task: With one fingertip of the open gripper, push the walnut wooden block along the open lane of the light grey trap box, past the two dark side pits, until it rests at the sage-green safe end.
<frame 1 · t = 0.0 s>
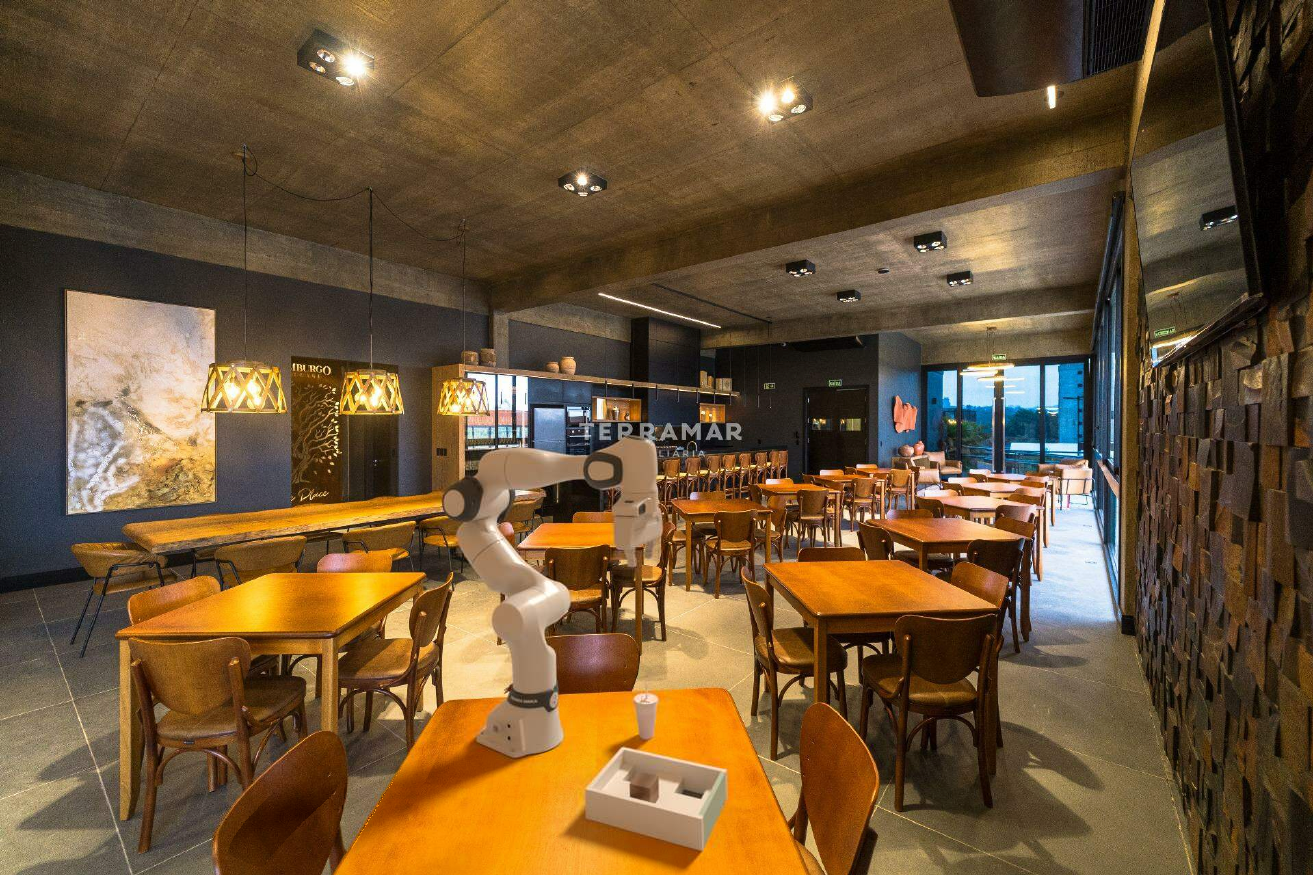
hand: (640, 562, 135), 48 cm above the table, fingers open, 8 cm apart
walnut block: (644, 801, 117), point 3 cm above the table, touching trap box
smoothie: (646, 736, 148), on the table
trap box: (658, 807, 119), on the table
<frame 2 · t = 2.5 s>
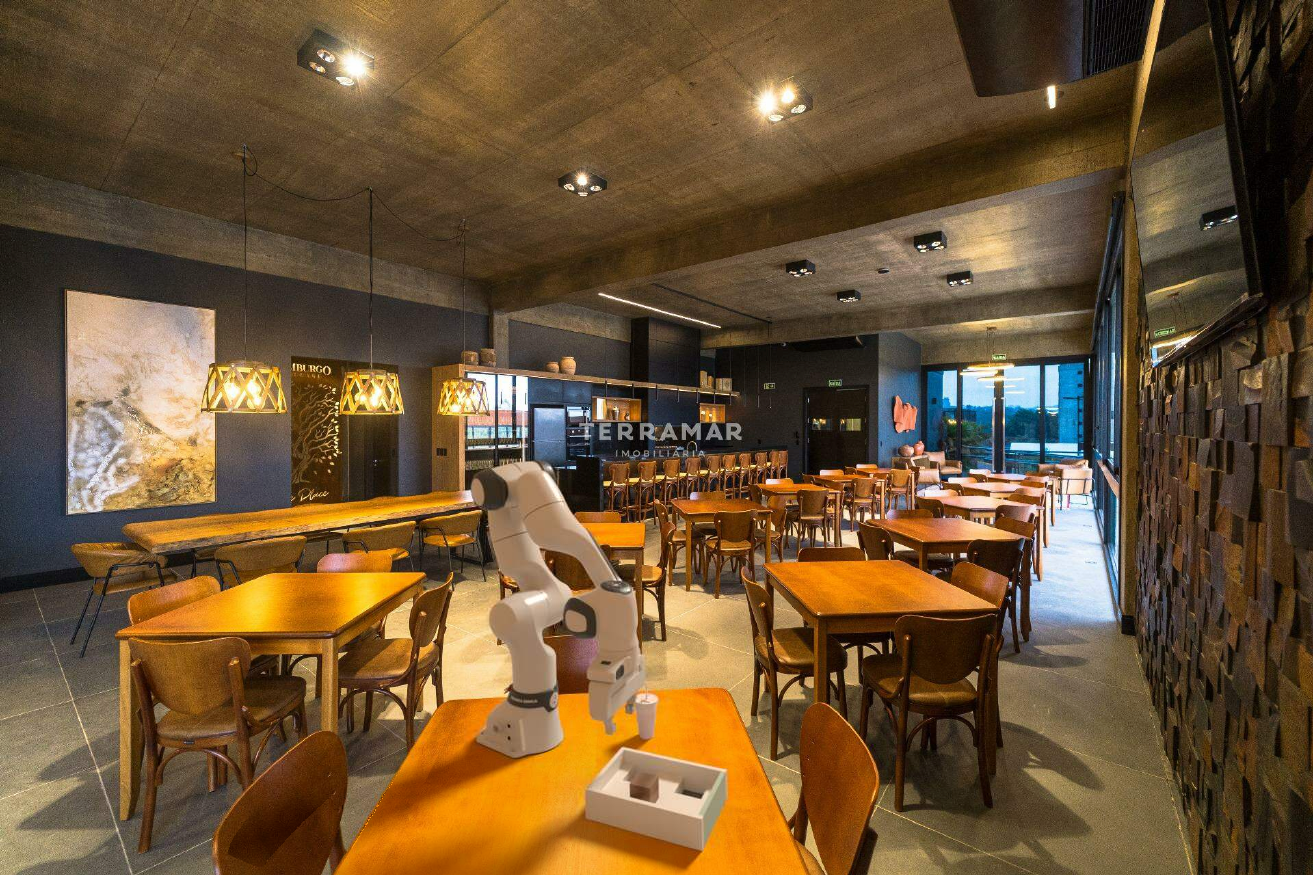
hand: (620, 722, 123), 16 cm above the table, fingers open, 8 cm apart
nothing on the table moved.
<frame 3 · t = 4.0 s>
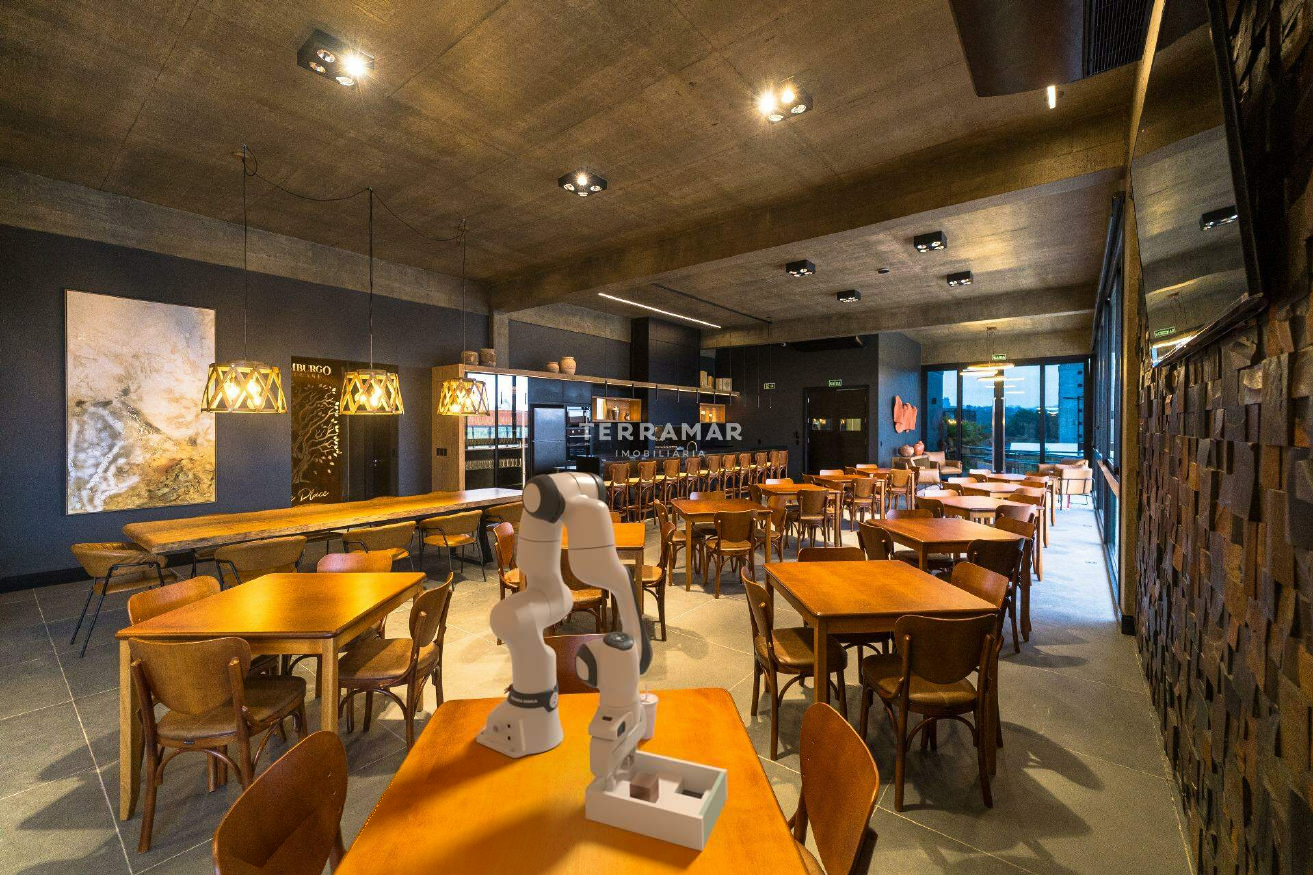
hand: (621, 775, 123), 5 cm above the table, fingers open, 8 cm apart
nothing on the table moved.
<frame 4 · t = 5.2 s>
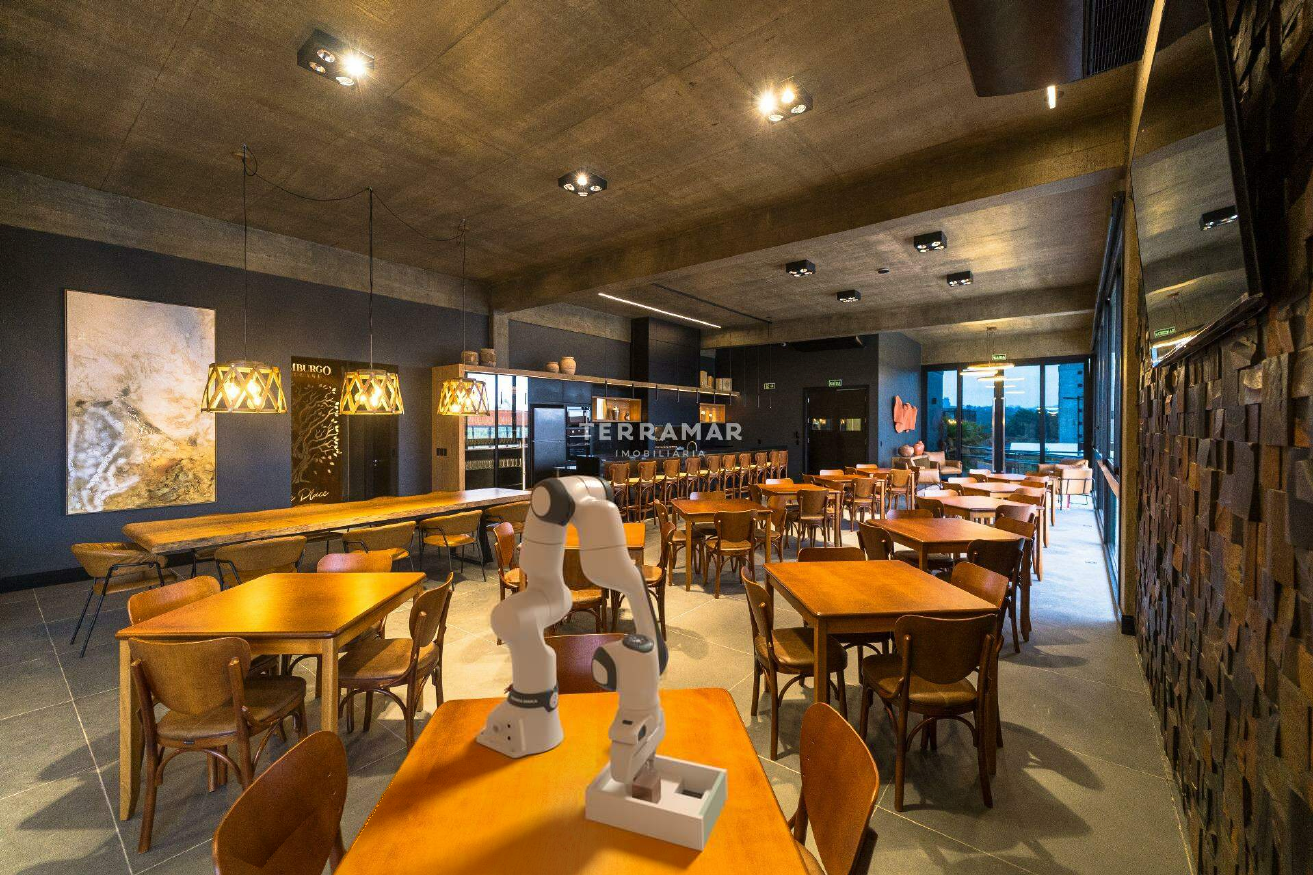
hand: (640, 779, 121), 5 cm above the table, fingers open, 8 cm apart
walnut block: (646, 802, 117), point 3 cm above the table, touching gripper
everything else where it was.
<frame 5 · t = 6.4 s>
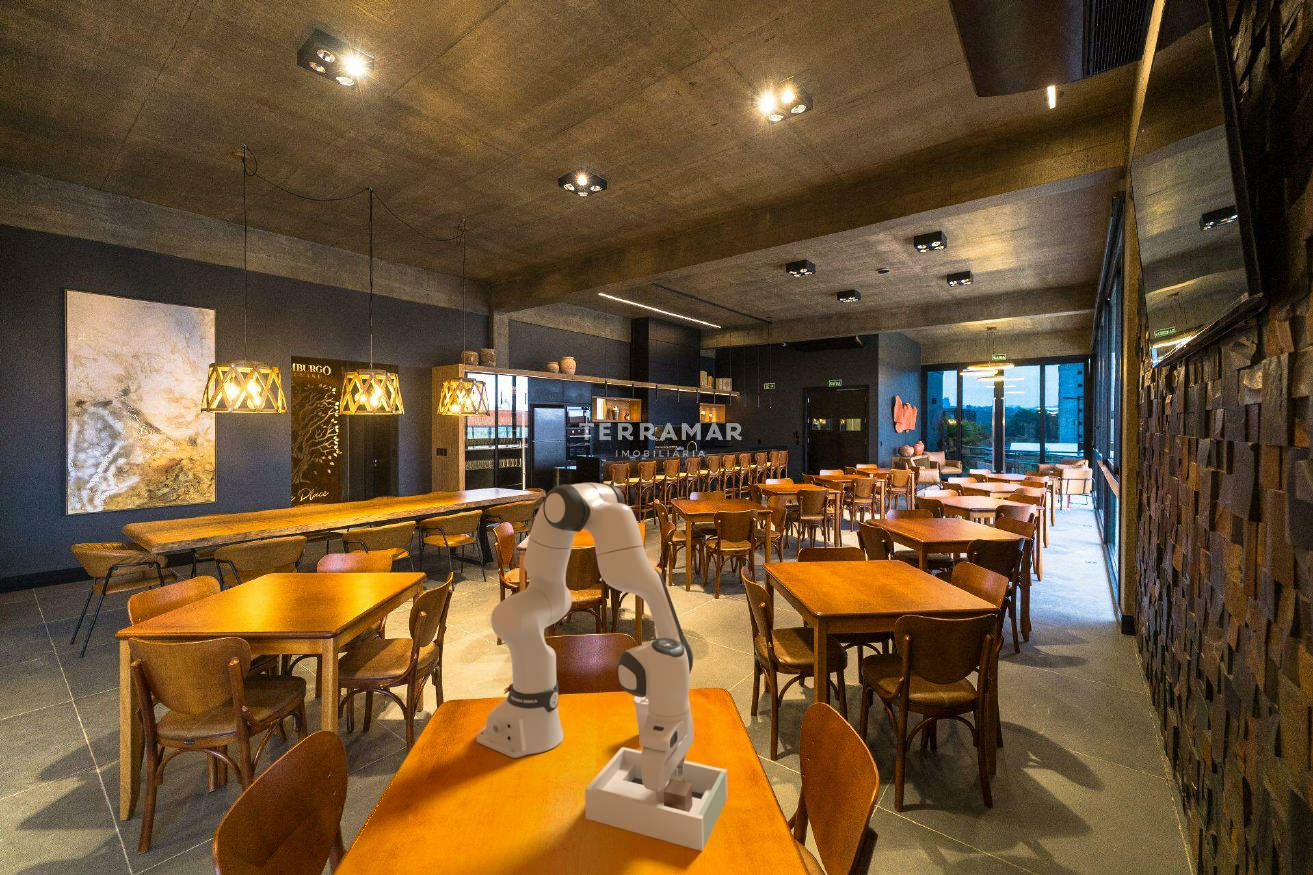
hand: (670, 786, 119), 5 cm above the table, fingers open, 8 cm apart
walnut block: (678, 809, 114), point 3 cm above the table
everything else where it was.
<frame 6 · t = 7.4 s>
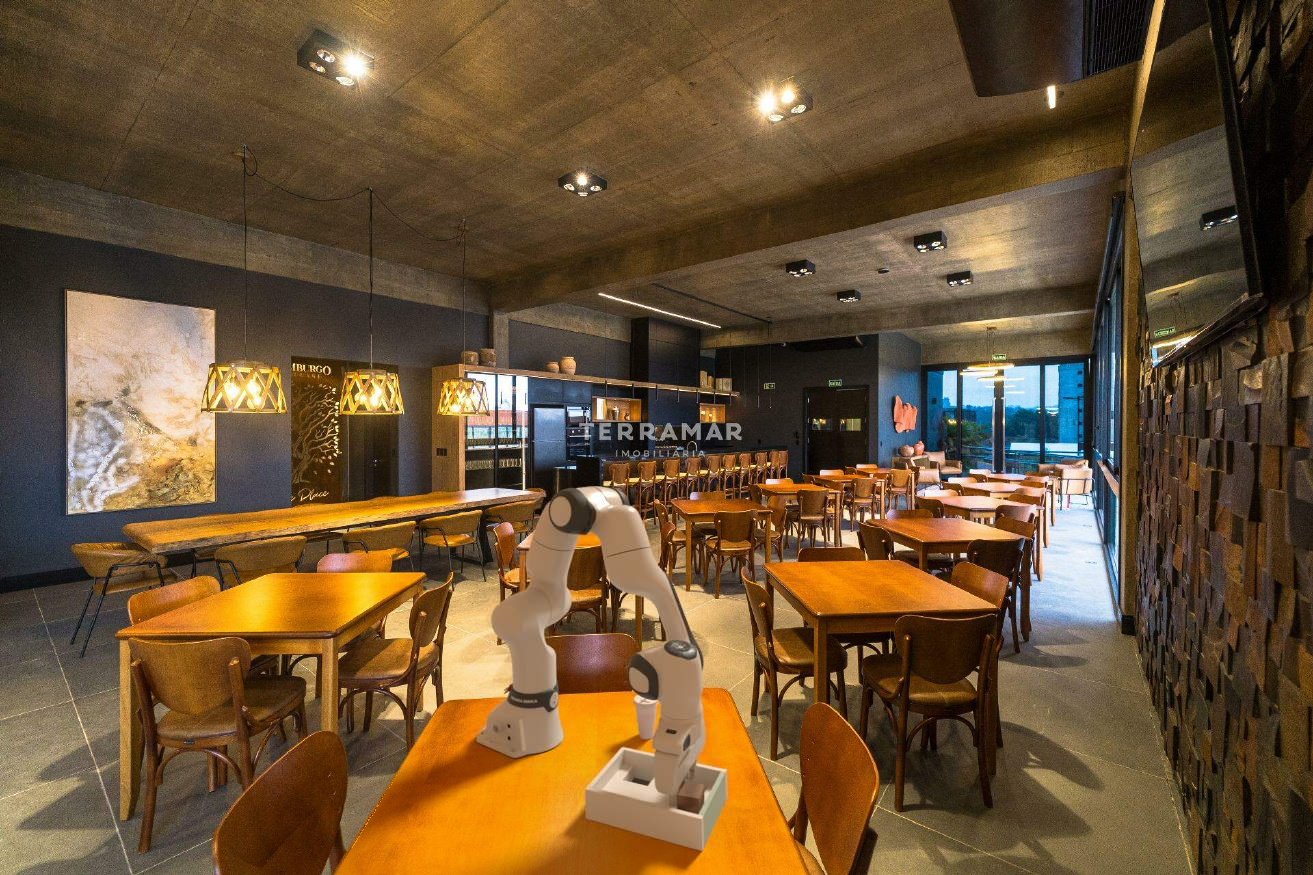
hand: (682, 790, 118), 5 cm above the table, fingers open, 8 cm apart
walnut block: (691, 812, 113), point 3 cm above the table, touching gripper, trap box
everything else where it was.
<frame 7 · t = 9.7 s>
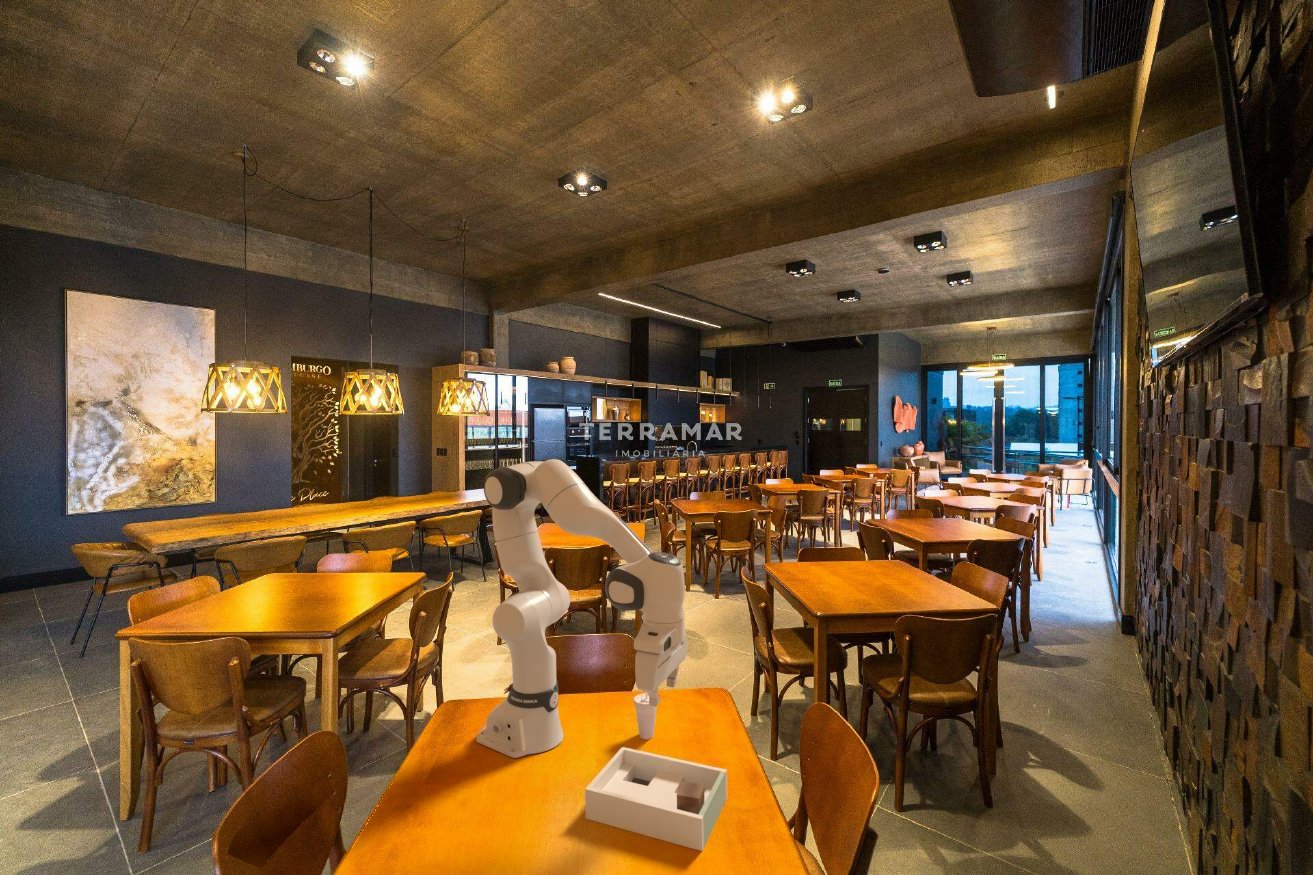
hand: (663, 694, 122), 23 cm above the table, fingers open, 8 cm apart
walnut block: (691, 812, 113), point 3 cm above the table, touching trap box
everything else where it was.
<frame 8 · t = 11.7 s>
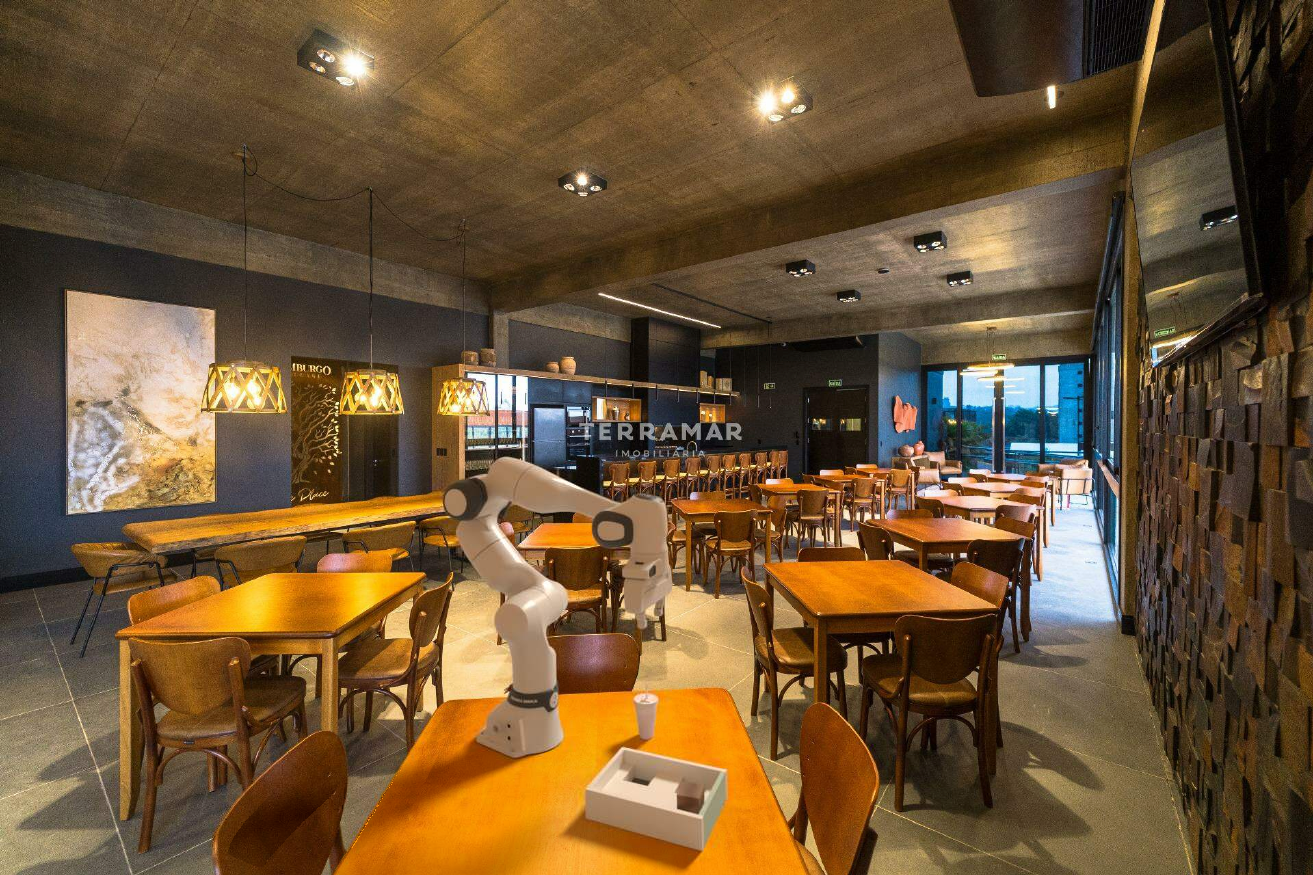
hand: (650, 621, 134), 34 cm above the table, fingers open, 8 cm apart
nothing on the table moved.
at the end: walnut block 0.4 cm from the target spot on the trap box, point 3.0 cm above the trap box's base; walnut block tilted 0° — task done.
